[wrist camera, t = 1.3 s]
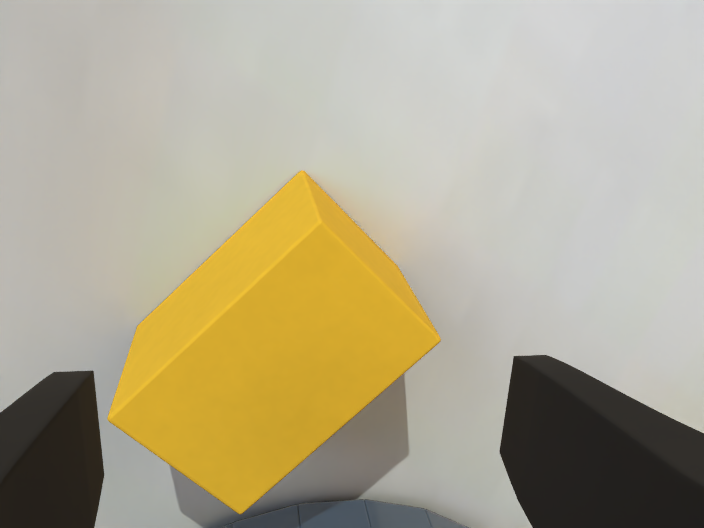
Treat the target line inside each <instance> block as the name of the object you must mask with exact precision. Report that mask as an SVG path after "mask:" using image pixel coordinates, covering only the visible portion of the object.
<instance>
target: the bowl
mask: <svg viewBox="0 0 704 528" xmlns="http://www.w3.org/2000/svg"><path fill="white" fill-rule="evenodd" d="M222 528H469V527H467V526H464V525H462V524H460V523H457V522H455V521H453V520H450V519H448V518H446V517H443V516H441V515H439V514H436V513H434V512H432V511H429V510H427V509H424V508H418V507H412V506H405V505H399V504H393V503H386V502H380V501H373V500H367V499H365V500H363V499H360V500H345V501H331V502H316V503H301V504H298V506H297V505H292V506H289V507H285V508H282V509H278V510H275V511H271V512H268V513H264V514H260V515H257V516H253V517H250V518H246V519H243V520H239V521H236V522H233V524H232V523H230V524H228V525H226V526H224V527H222Z"/></svg>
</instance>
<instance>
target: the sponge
mask: <svg viewBox="0 0 704 528" xmlns="http://www.w3.org/2000/svg"><path fill="white" fill-rule="evenodd" d="M440 341H441V339H440V337H439V335H438V333H437V331H436V330H435V328H434V326H433V325H432V323H431V321H430V320H429V318H428V316H427V315H426V313H425V311H424V310H423V308H422V306H421V305H420V303H419V301H418V300H417V298H416V296H415V295H414V293H413V291H412V290H411V288H410V286H409V285H408V283H407V281H406V280H405V278H404V276H403V275H402V273H401V271H400V269H399V268H398V266H397V265H396V264H395V263H394V262H393V261H392V260H391V259H390V258H389V257H388V256H387V255H386V254H385V253H384V252H383V251H382V250H381V249H380V248H379V247H378V246H377V245H376V244H375V243H374V242H373V241H372V240H371V239H370V238H369V237H368V236H367V235H366V234H365V233H364V232H363V231H362V230H361V229H360V228H359V227H358V225H357V224H356V223H355V222H354V221H353V220H352V219H351V218H350V217H349V216H348V215H347V214H346V213H345V212H344V211H343V210H342V209H341V208H340V207H339V206H338V205H337V204H336V203H335V202H334V201H333V200H332V199H331V198H330V197H329V196H328V195H327V194H326V193H325V192H324V191H323V190H322V189H321V188H320V187H319V186H318V185H317V184H316V183H315V182H314V181H313V180H312V179H311V178H310V177H309V176H308V175H307V174H306V172H305V171H300V172H299V173H298V174H296V175H295V176H294V177H293V178H292V179H291V180H290V181H289V182H288V183H287V184H286V185H285V186H284V187H283V188H282V189H281V190H280V191H279V192H278V193H277V194H275V195H274V196H273V197H272V198H271V199H270V200H269V201H268V202H267V203H266V204H265V205H264V206H263V207H262V208H261V209H260V210H259V211H258V212H257V213H256V214H254V215H253V216H252V217H251V218H250V219H249V220H248V221H247V222H246V223H245V224H244V225H243V226H242V227H241V228H240V229H239V230H238V231H237V232H236V233H235V234H233V235H232V236H231V237H230V238H229V239H228V240H227V241H226V242H225V243H224V244H223V245H222V246H221V247H220V248H219V249H218V250H217V251H216V252H215V253H214V254H212V255H211V256H210V257H209V258H208V259H207V260H206V261H205V262H204V263H203V264H202V265H201V266H200V267H199V268H198V269H197V270H196V271H195V272H194V273H193V274H191V275H190V276H189V277H188V278H187V279H186V280H185V281H184V282H183V283H182V284H181V285H180V286H179V287H178V288H177V289H176V290H175V291H174V292H173V293H172V294H171V295H169V296H168V297H167V298H166V299H165V300H164V301H163V302H162V303H161V304H160V305H159V306H158V307H157V308H156V309H155V310H154V311H153V312H152V313H151V314H150V315H148V316H147V317H146V318H145V319H144V320H143V321H142V322H141V323H140V324H139V325H138V326H137V329H136V332H135V335H134V338H133V341H132V344H131V347H130V350H129V353H128V356H127V360H126V363H125V366H124V369H123V372H122V375H121V378H120V381H119V384H118V387H117V390H116V393H115V396H114V399H113V403H112V406H111V409H110V412H109V415H108V418H107V419H108V421H109V422H110V423H112V424H113V425H115V426H116V427H117V428H119V429H120V430H122V431H123V432H124V433H126V434H127V435H129V436H130V437H132V438H133V439H134V440H136V441H137V442H139V443H140V444H141V445H143V446H144V447H146V448H147V449H148V450H150V451H151V452H153V453H154V454H155V455H157V456H158V457H160V458H161V459H162V460H164V461H165V462H167V463H168V464H169V465H171V466H172V467H174V468H175V469H176V470H178V471H179V472H181V473H182V474H183V475H185V476H186V477H188V478H189V479H190V480H192V481H193V482H195V483H196V484H197V485H199V486H200V487H202V488H203V489H204V490H206V491H207V492H209V493H210V494H211V495H213V496H214V497H216V498H217V499H218V500H220V501H221V502H223V503H224V504H225V505H227V506H228V507H230V508H231V509H233V510H234V511H235V512H237V513H238V514H242V513H244V512H245V511H246V510H247V509H248V508H249V507H251V506H252V505H253V504H254V503H255V502H256V501H257V500H259V499H260V498H261V497H262V496H263V495H264V494H265V493H267V492H268V491H269V490H270V489H271V488H272V487H274V486H275V485H276V484H277V483H278V482H279V481H280V480H282V479H283V478H284V477H285V476H286V475H287V474H288V473H290V472H291V471H292V470H293V469H294V468H295V467H297V466H298V465H299V464H300V463H301V462H302V461H303V460H305V459H306V458H307V457H308V456H309V455H310V454H312V453H313V452H314V451H315V450H316V449H317V448H318V447H320V446H321V445H322V444H323V443H324V442H325V441H326V440H328V439H329V438H330V437H331V436H332V435H333V434H335V433H336V432H337V431H338V430H339V429H340V428H341V427H343V426H344V425H345V424H346V423H347V422H348V421H349V420H351V419H352V418H353V417H354V416H355V415H356V414H358V413H359V412H360V411H361V410H362V409H363V408H364V407H366V406H367V405H368V404H369V403H370V402H371V401H372V400H374V399H375V398H376V397H377V396H378V395H379V394H381V393H382V392H383V391H384V390H385V389H386V388H387V387H389V386H390V385H391V384H392V383H393V382H394V381H396V380H397V379H398V378H399V377H400V376H401V375H402V374H404V373H405V372H406V371H407V370H408V369H409V368H410V367H412V366H413V365H414V364H415V363H416V362H417V361H419V360H420V359H421V358H422V357H423V356H424V355H425V354H427V353H428V352H429V351H430V350H431V349H432V348H433V347H435V346H436V345H437V344H438V343H439V342H440Z"/></svg>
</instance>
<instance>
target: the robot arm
mask: <svg viewBox="0 0 704 528" xmlns="http://www.w3.org/2000/svg"><path fill="white" fill-rule="evenodd" d="M500 454H501V457H502V460H503V462H504V465H505V468H506V471H507V473H508V476H509V479H510V481H511V484H512V486H513V489H514V491H515V494H516V496H517V499H518V501H519V503H520V505H521V507H522V509H523V510H524V512H525V514H526V516H527V518H528V520H529V522H530V523H531V525H532V527H533V528H704V433H701V432H699V431H697V430H695V429H693V428H691V427H689V426H687V425H684V424H682V423H680V422H678V421H676V420H674V419H672V418H670V417H668V416H666V415H664V414H662V413H660V412H658V411H656V410H654V409H652V408H650V407H648V406H646V405H644V404H642V403H640V402H638V401H636V400H635V399H633V398H631V397H629V396H627V395H625V394H623V393H621V392H619V391H618V390H616V389H614V388H612V387H610V386H608V385H606V384H604V383H603V382H601V381H599V380H597V379H595V378H593V377H591V376H589V375H588V374H586V373H584V372H582V371H580V370H578V369H576V368H574V367H572V366H570V365H568V364H566V363H564V362H562V361H559V360H557V359H555V358H552V357H550V356H547V355H534V356H514V359H513V366H512V372H511V379H510V386H509V392H508V399H507V406H506V412H505V419H504V426H503V432H502V439H501V446H500ZM103 478H104V469H103V459H102V449H101V440H100V430H99V420H98V411H97V401H96V391H95V382H94V372H93V371H74V372H54V373H52V374H51V375H49V376H48V377H46V378H45V379H43V380H42V381H41V382H39V383H38V384H37V385H35V386H34V387H33V388H32V389H30V390H29V391H28V392H26V393H25V394H24V395H23V396H21V397H20V398H19V399H18V400H16V401H15V402H14V403H12V404H11V405H10V406H9V407H7V408H6V409H5V410H3V411H2V412H1V413H0V528H94V526H95V521H96V516H97V511H98V506H99V500H100V495H101V489H102V484H103Z"/></svg>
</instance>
